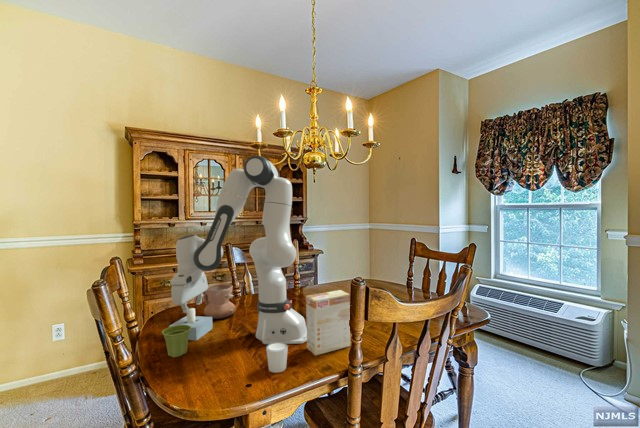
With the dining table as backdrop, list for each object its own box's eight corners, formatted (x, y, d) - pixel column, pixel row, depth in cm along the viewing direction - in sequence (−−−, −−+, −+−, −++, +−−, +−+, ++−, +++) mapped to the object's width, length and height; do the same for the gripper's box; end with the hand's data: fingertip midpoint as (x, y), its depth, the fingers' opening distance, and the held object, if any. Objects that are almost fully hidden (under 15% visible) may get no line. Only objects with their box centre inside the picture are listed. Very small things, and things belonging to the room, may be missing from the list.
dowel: (195, 331, 132) (194, 307, 131) (196, 333, 129) (195, 309, 129) (186, 332, 130) (186, 309, 130) (187, 335, 127) (187, 311, 127)
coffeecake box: (341, 339, 122) (340, 289, 121) (351, 346, 115) (350, 293, 115) (306, 348, 114) (305, 295, 114) (315, 356, 108) (314, 300, 108)
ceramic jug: (244, 314, 152) (243, 285, 151) (220, 324, 139) (219, 292, 139) (218, 308, 161) (217, 281, 160) (194, 317, 148) (193, 287, 148)
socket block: (212, 328, 134) (212, 317, 134) (196, 340, 123) (196, 327, 122) (187, 327, 137) (186, 315, 136) (169, 338, 125) (168, 326, 125)
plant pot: (160, 361, 106) (159, 336, 106) (165, 349, 115) (164, 326, 115) (190, 357, 109) (189, 332, 108) (193, 346, 118) (192, 323, 117)
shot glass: (288, 362, 104) (288, 341, 104) (287, 373, 97) (287, 351, 97) (268, 363, 104) (267, 342, 104) (265, 374, 97) (264, 351, 97)
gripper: (196, 269, 139) (199, 299, 140) (167, 281, 119) (170, 317, 119) (210, 268, 138) (212, 299, 138) (182, 281, 118) (185, 317, 118)
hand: (192, 308), depth 129 cm, fingers open, 8 cm apart
